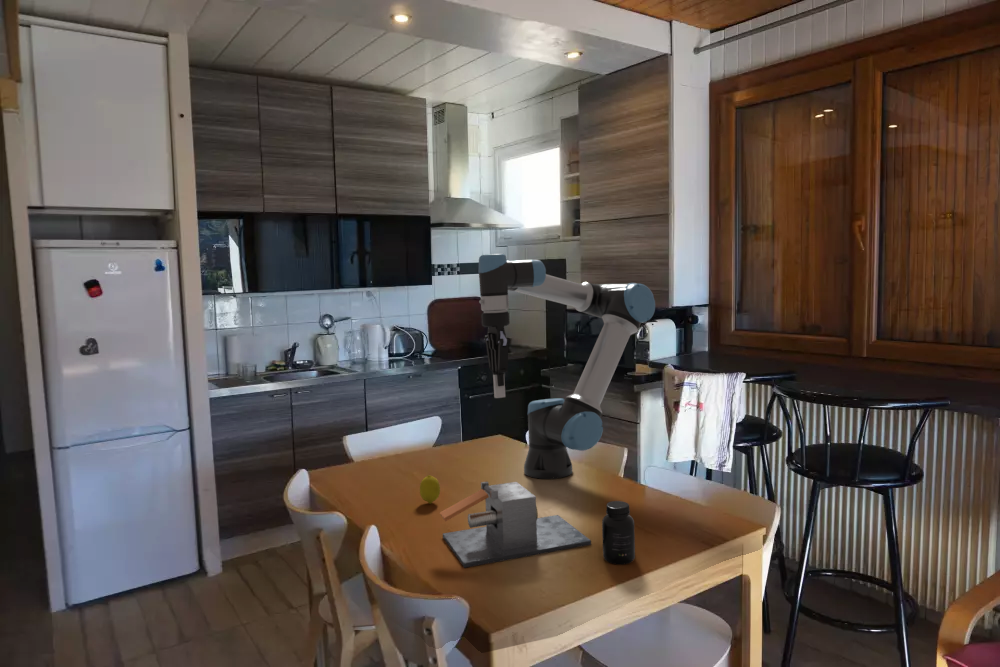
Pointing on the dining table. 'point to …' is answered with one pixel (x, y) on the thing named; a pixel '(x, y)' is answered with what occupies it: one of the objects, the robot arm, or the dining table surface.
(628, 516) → the supplement bottle
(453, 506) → the tan flat bar
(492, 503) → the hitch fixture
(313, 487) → the dining table surface
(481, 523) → the lynch pin
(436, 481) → the lemon
